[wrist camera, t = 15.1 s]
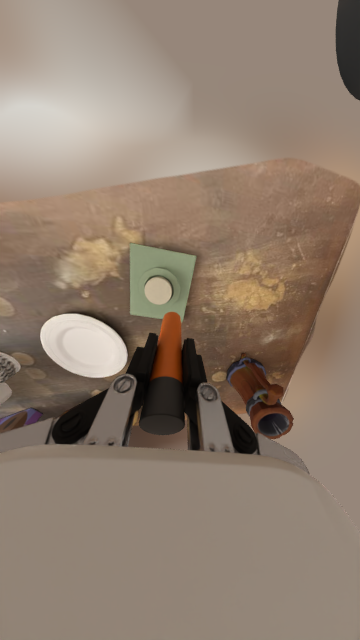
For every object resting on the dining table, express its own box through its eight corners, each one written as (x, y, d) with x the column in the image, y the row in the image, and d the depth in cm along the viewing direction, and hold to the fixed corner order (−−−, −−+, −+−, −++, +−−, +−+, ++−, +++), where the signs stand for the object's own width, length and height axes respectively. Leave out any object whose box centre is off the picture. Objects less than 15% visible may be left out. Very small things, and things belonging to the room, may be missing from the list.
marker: (164, 309, 15) (139, 412, 6) (182, 312, 15) (189, 416, 6) (161, 325, 16) (138, 433, 7) (179, 328, 17) (180, 436, 7)
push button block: (132, 243, 23) (126, 241, 21) (195, 255, 24) (197, 256, 22) (132, 311, 30) (127, 317, 27) (182, 319, 31) (182, 325, 28)
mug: (221, 345, 35) (248, 402, 21) (264, 336, 34) (321, 390, 20) (226, 386, 43) (248, 445, 30) (261, 379, 42) (301, 438, 28)
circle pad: (147, 274, 23) (145, 275, 22) (173, 278, 24) (173, 280, 22) (145, 299, 26) (143, 302, 24) (170, 303, 26) (169, 306, 25)
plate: (128, 316, 30) (125, 319, 28) (131, 375, 40) (129, 380, 38) (33, 304, 28) (24, 308, 27) (60, 369, 38) (54, 375, 36)
